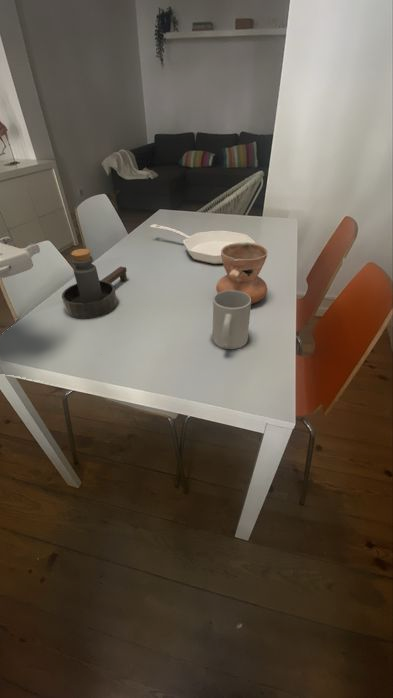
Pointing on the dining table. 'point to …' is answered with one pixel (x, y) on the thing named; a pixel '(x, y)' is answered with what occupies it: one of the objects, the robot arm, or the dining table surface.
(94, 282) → the bottle
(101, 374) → the dining table surface
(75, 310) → the dark low round container
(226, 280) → the ceramic jug
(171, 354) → the dining table surface
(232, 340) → the mug
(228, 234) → the pan
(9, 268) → the robot arm
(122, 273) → the dark brown rectangular block
